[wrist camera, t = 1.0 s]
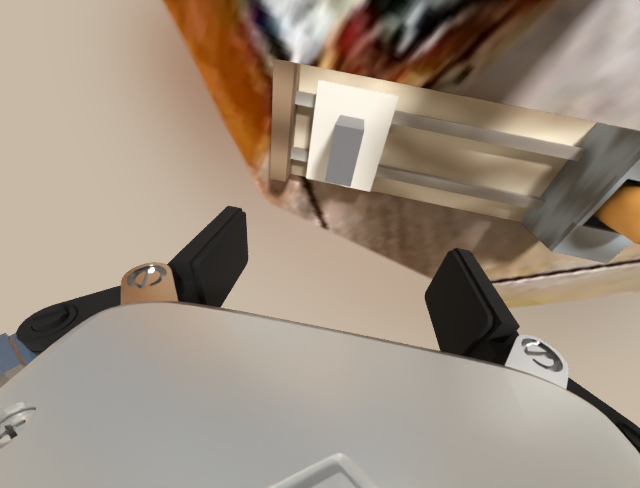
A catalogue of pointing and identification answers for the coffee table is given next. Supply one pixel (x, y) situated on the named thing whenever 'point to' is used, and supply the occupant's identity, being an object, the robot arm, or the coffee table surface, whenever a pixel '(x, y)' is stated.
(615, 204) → the button
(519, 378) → the robot arm
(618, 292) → the coffee table surface
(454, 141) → the rail bed
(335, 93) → the carriage
